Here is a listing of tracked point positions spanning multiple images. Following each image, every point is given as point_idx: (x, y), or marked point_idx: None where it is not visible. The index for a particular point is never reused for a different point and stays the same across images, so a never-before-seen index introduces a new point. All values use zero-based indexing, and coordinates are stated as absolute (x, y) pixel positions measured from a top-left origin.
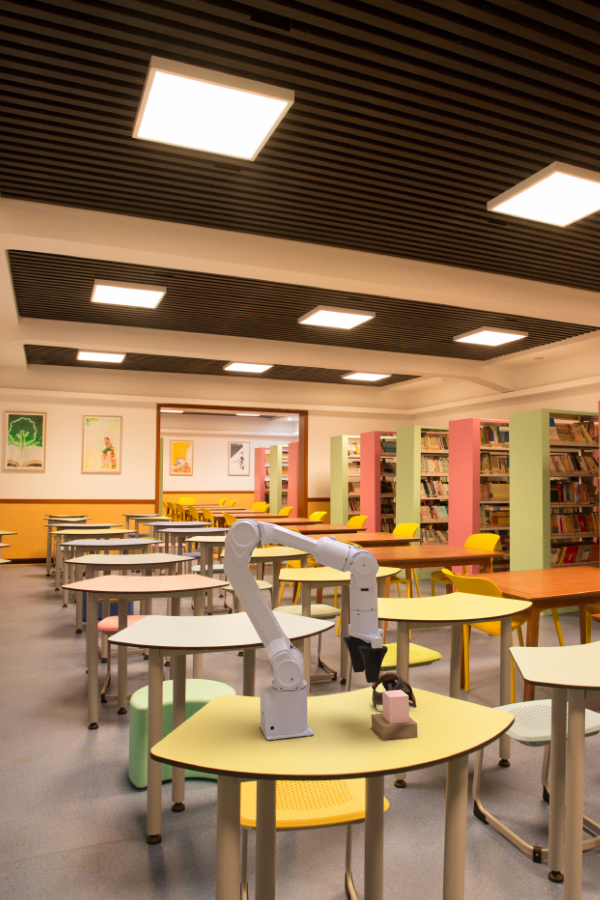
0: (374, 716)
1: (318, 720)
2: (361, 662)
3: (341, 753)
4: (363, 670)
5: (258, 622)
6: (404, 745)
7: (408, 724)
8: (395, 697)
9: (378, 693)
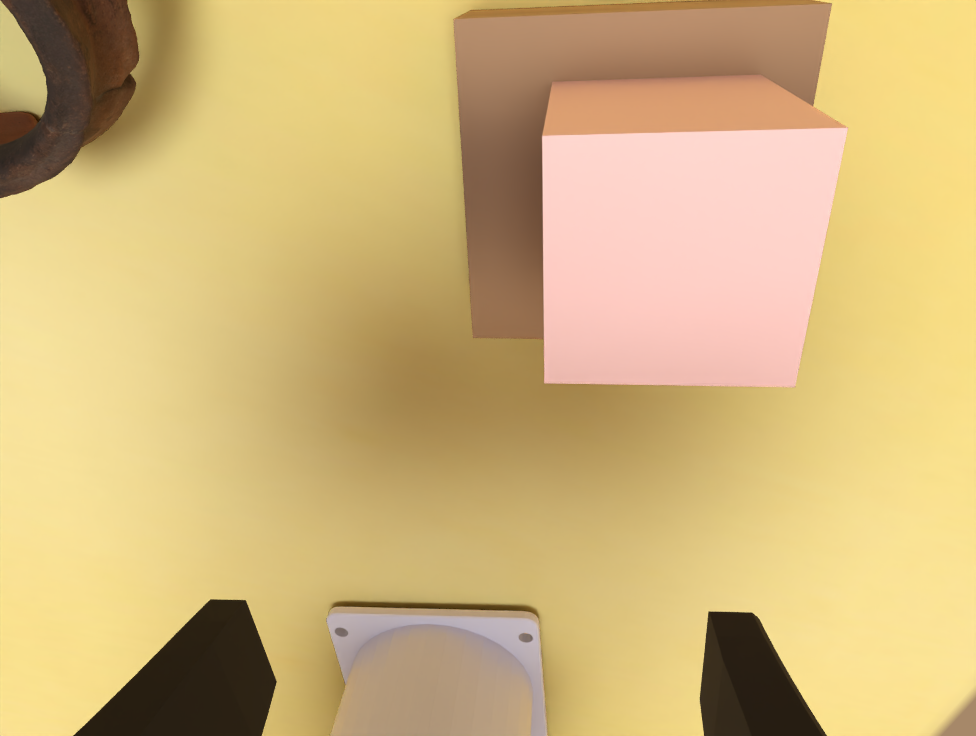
0: (521, 328)
1: (309, 537)
2: (189, 733)
3: (818, 558)
4: (240, 619)
5: None
6: (893, 176)
7: (811, 105)
8: (804, 311)
9: (45, 165)
